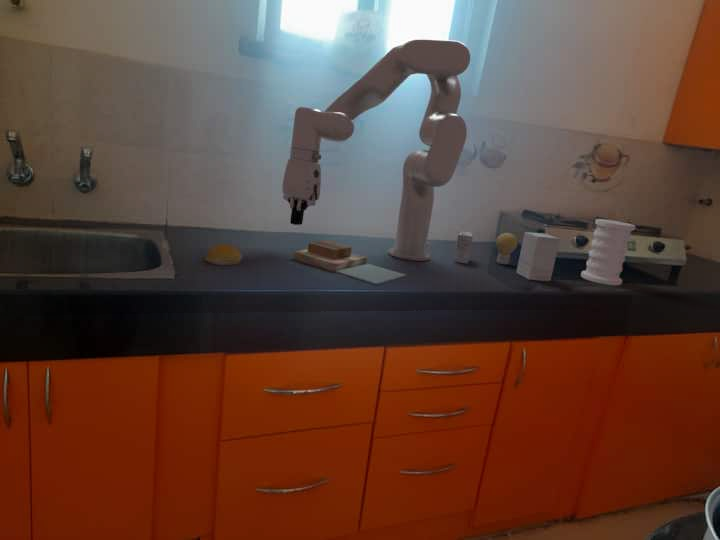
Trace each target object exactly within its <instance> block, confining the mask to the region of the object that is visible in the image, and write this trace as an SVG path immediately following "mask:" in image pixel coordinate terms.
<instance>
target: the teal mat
mask: <svg viewBox="0 0 720 540" xmlns="http://www.w3.org/2000/svg"><path fill="white" fill-rule="evenodd" d="M335 273H337V274H340V275H343V276H347V277H349V276H350V277H349V278H352V277H353V279H356V280H360V281H363V282H367V283H369V284H373V285H376V286H377V285H381V284H385V283H388V282H392V281H395V280H397V279H401V278H403V277H407V274H406V273H401V272H398V271H394V270H391V269H389V268H388V269H387V268H385V267H381V266H377V265H374V264H370V263H366V264H364V265H360V266H355V267H351V268H347V269H342V270H338V271H336V272H335Z"/></svg>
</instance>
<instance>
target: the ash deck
mask: <svg viewBox="0 0 720 540" xmlns="http://www.w3.org/2000/svg"><path fill="white" fill-rule="evenodd" d="M367 259H368V257H366V256H363V255H360V254H355V253H352V252H351V256H350V257H345V258H340V259H335V260H334V259H331V258H327V257H324V256H320V255H317V254H314V253H310V252H308V248H307V249H300V250H294V251H292V260H295V261H299V262H301V263H305V264H307V265H311V266H314V267H316V268H317V267H318V268H321V269H324V270H327V271H330V272H334V273H336V271H338V270H342V269H347V268H351V267H355V266H360V265H364V264H367Z"/></svg>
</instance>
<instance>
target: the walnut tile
mask: <svg viewBox="0 0 720 540" xmlns="http://www.w3.org/2000/svg"><path fill="white" fill-rule="evenodd" d="M307 246H308V247H307V249H308V252H310V253H314V254H317V255H320V256H324V257H327V258H331V259H334V260H335V259H340V258H345V257H350V256H351V253H352V246H348V245H344V244H340V243H336V242H333V241H330V240H327V239H325V240H317V241H311V242H308V245H307Z"/></svg>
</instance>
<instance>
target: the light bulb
mask: <svg viewBox="0 0 720 540" xmlns="http://www.w3.org/2000/svg"><path fill="white" fill-rule="evenodd" d="M495 242H496V243H495V244H496V245H495V246H496V249H497V251H498V254H497V259H496V262H497V264H499V265H502V264H503V266H505V265H509V264H510V260H511V259H510V258H511V253H513V252H514V251H515V250H516V248H517V246H518V238H517V236H515V234H513V233H510V232H504V233H501V234H499V235H498V236H497V239H496V241H495Z"/></svg>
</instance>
